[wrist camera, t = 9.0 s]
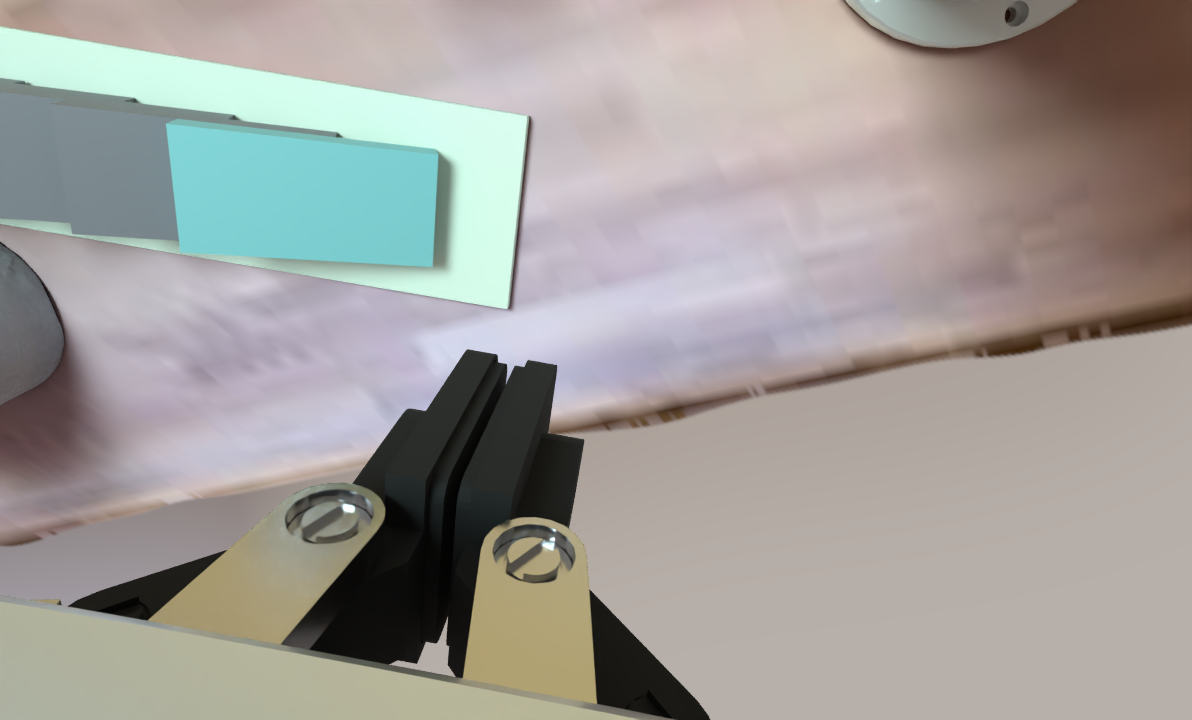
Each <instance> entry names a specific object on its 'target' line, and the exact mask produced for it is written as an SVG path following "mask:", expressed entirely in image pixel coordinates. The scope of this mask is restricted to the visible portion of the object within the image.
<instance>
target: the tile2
mask: <svg viewBox="0 0 1192 720" xmlns="http://www.w3.org/2000/svg"><path fill="white" fill-rule="evenodd" d="M49 107H50V112H51V118H52V124H53V129H54V135H55V140H56V146H57V151H58V157H59V163H60V168H61V174H62V179H63V185H64V191H65V196H66V202H67V207H68V213H69V218H70V224H71V230H72V234H79V235H95V236H110V237H126V238H142V239H158V240H173V241H179V236H178V227H177V218H176V209H175V200H174V191H173V182H172V173H171V164H170V155H169V146H168V137H167V128H166V123H169V122H171V121H173V120H176V119H183V120H192V121H200V122H209V123H218V124H226V125H235V126H243V127H252V128H260V129H269V130H278V131H286V132H295V133H303V134H312V135H320V136H329V137H337V132H331V131H323V130H314V129H306V128H297V127H289V126H281V125H272V124H264V123H256V122H247V121H239V120H230V119H222V118H214V117H205V116H197V115H188V114H180V113H172V112H163V111H155V110H147V109H138V108H130V107H121V106H113V105H105V104H96V103H88V102H79V101H71V100H64V101H59V102H55V103H50V104H49Z"/></svg>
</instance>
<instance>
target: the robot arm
mask: <svg viewBox="0 0 1192 720" xmlns="http://www.w3.org/2000/svg"><path fill="white" fill-rule="evenodd" d="M845 1H846V2H847V3H848V5H849V6H850V7H851V8H852V9H854V10H855V11H856V12H857V13H858V14H859V15H860V16H861V17H862V18H864V19H865V20H866V21H867V22H868V23H869V24H870V25H872V26H874V27H875V28H877V29H879V30H881V31H883V32H884V33H886V34H888V35H890V36H892V37H893V38H895V39H899V40H902V41H906V42H909V43H913V44H916V45H920V46H923V47H939V48H961V47H972V46H980V45H984V44H989V43H993V42H997V41H1001V40H1005V39H1010V38H1012V37H1014V36H1017V35H1019V34H1021V33H1024V32H1026V31H1028V30H1031V29H1033V28H1035V27H1038V26H1040V25H1042V24H1044V23H1045V22H1047V21H1048V20H1050V19H1052V18H1053V17H1055V16H1056V15H1058V14H1059V13H1061V12H1063V11H1064V10H1066V9H1067V8H1069V7H1070V6H1072V5H1074V4H1075V3H1076V2H1077V1H1078V0H845ZM1007 9H1009V10H1010V13H1011V15H1010V18H1009V20H1008V21H1007V22H1006V21H1005V19H1004V18H1005V12H1006V10H1007ZM556 374H557V365H553V364H547V363H542V362H536V361H530V360H528V361H527V363H526V365H525V367H520V366H515V367H514V369H513V371H512V373H511V375H510V377H509V379H508V382H507V384H506V377H507V364H503V363H498V356H497V355H496V354H491V353H485V352H479V351H474V350H468V349H467V350H466V351H465V353H464V354H463V356H462V357H461V359H460V360H459V362H458V363H457V365H456V366H455V368H454V369H453V371H452V372H451V374H450V375H449V377H448V378H447V380H446V382H445V383H444V385H443V386H442V388H441V389H440V391H439V392H438V394H437V395H436V397H435V398H434V400H433V401H432V403H431V404H430V406H429V407H428V409H427V410H426V411H421V410H416V409H407V410H406V411H405V412H404V413H403V414H402V416H401V417H400V418H399V420H398V421H397V423H396V424H395V425H394V427H393V428H392V429H391V431H390V432H389V434H388V435H387V436H386V438H385V439H384V441H383V442H382V443H381V445H380V446H379V448H378V449H377V450H376V452H375V453H374V454H373V456H372V457H371V459H370V460H369V461H368V463H367V464H366V466H365V467H364V468H363V470H362V471H361V473H360V474H359V475H358V477H357V478H356V479H355V481H354V482H353V484H348V483H327V484H321V485H317V486H312V487H309V488H306V489H304V490H301V491H299V492H296V493H295V494H293V495H292V496H290V497H289V498H287V499H286V500H284V501H283V502H282V503H281V504H279V505H278V506H277V507H276V508H275V509H274V510H273V511H272V512H270V513H269V514H268V515H267V516H266V517H265V518H264V519H262V520H261V521H260V522H259V523H258V524H257V525H256V526H254V527H253V528H252V529H251V530H250V531H249V532H248V533H247V534H245V535H244V536H243V537H242V538H241V539H240V540H239V541H237V543H235V544H234V545H233V546H232V547H231V548H229V549H228V550H226V551H222V552H219V553H216V554H213V555H210V556H207V557H204V558H201V559H198V560H195V561H192V562H188V563H185V564H182V565H179V566H176V567H173V568H170V569H167V570H163V571H160V572H157V573H154V574H151V575H148V576H145V577H141V578H138V579H135V580H132V581H129V582H126V583H123V584H120V585H117V586H113V587H110V588H107V589H104V590H101V591H99V592H96V593H94V594H91V595H89V596H87V597H84V598H81V599H79V600H77V601H75V602H74V603H72V604H71V605H69V606H62V604H61V601H60V600H27V599H22V598H16V597H10V596H3V595H0V720H710V718H709V716H708V715H707V713H706V712H705V711H704V709H703V708H702V706H701V705H700V704H699V702H698V701H697V700H696V699H695V698H694V697H693V696H692V695H691V694H690V693H689V692H688V691H687V690H686V689H685V688H684V686H683V685H681V683H680V682H679V681H678V680H677V679H676V678H675V677H674V676H673V675H672V674H671V673H670V672H669V671H668V670H667V669H666V668H665V667H664V666H663V665H662V664H661V663H660V662H659V661H658V660H657V659H656V658H655V656H654V655H653V654H652V653H651V652H650V651H649V650H648V649H647V648H646V647H645V646H644V645H643V644H642V643H641V642H640V641H639V640H638V639H637V638H636V637H635V636H634V635H633V634H632V633H631V632H630V631H629V630H628V629H627V628H626V627H625V626H624V624H622V622H621V621H620V620H619V619H618V618H617V617H616V616H615V615H614V614H613V613H612V612H611V611H610V610H609V609H608V608H607V607H606V606H605V605H604V604H603V603H602V602H601V601H600V600H599V599H598V598H597V597H596V596H595V595H594V593H593V592H592V591H591V590H590V589H589V579H588V565H587V555H586V551H585V548H584V544H583V543H582V542H581V540H580V539H579V538H578V536H577V535H576V534H575V533H574V532H572V531H571V530H570V529H569V525H570V519H571V514H572V509H573V503H574V498H575V492H576V487H577V481H578V475H579V469H580V463H581V458H582V451H583V445H584V439H578V438H573V437H567V436H562V435H556V434H550V433H548V430H549V423H550V416H551V409H552V402H553V395H554V388H555V381H556ZM447 617H448V627H447V640H446V641H447V642H446V643H447V646H449V656H448V666H449V667H450V669H451V670H452V672H453V673H454V675H455V676H456V677H452V676H447V675H441V674H436V673H431V672H425V671H420V670H415V669H409V668H404V667H398V666H392V665H389V664H391V663H393V662H395V661H397V660H399V661H405V662H411V663H416V664H417V662H418V660H419V657H420V655H421V652H422V650H423V647H424V645H425V642H430V643H437V642H438V640H439V638H440V636H441V633H442V631H443V628H444V625H445V623H446V620H447Z"/></svg>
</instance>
